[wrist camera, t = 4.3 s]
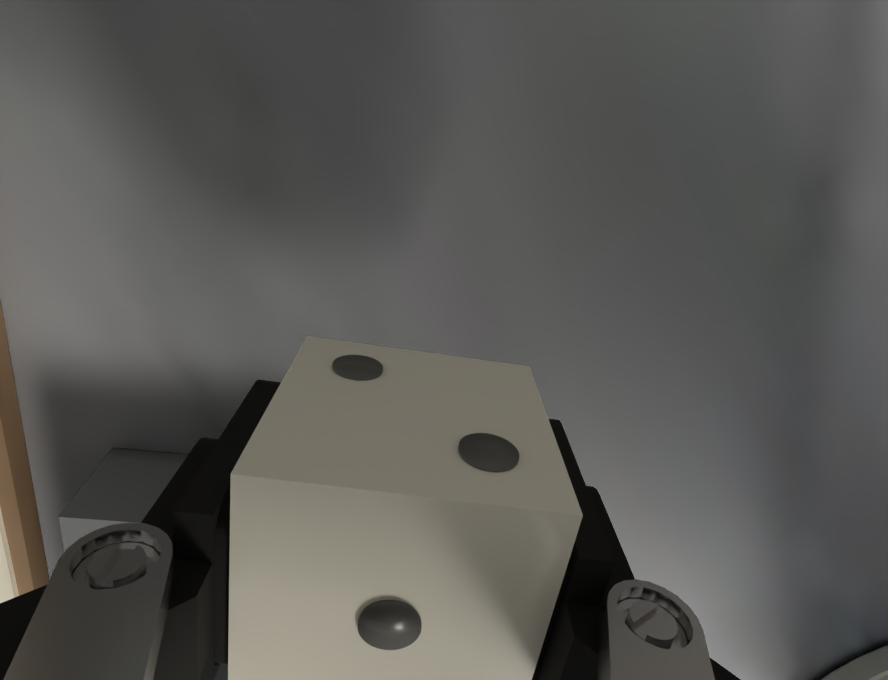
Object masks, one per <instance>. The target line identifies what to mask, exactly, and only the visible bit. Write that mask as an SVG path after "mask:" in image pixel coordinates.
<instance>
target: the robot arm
mask: <svg viewBox="0 0 888 680" xmlns="http://www.w3.org/2000/svg"><path fill="white" fill-rule="evenodd" d="M280 384H281V383H279V382H272V381H265V380H257V381H256V382H255V384H254V385H253V387H252V388H251V390H250V391H249V393H248V394H247V396H246V398H245V399H244V401H243V402H242V404H241V405H240V407H239V408H238V410H237V412H236V413H235V415H234V416H233V418H232V419H231V421H230V422H229V424H228V426H227V427H226V429H225V430H224V432H223V433H222V435H221V436H220V438H219V439H211V438H201V439H200V440H199V441H198V442H197V443H196V445H195V446H194V448H193V449H192V450H191V452H190V453H189V455H188V456H187V457H186V459H185V460H184V462H183V463H182V465H181V466H180V467H179V469H178V470H177V472H176V473H175V475H174V476H173V477H172V479H171V480H170V482H169V483H168V485H167V486H166V487H165V489H164V490H163V492H162V493H161V495H160V496H159V497H158V499H157V500H156V502H155V503H154V505H153V506H152V507H151V509H150V510H149V512H148V513H147V515H146V516H145V517H144V519H143V520H142V522H141V523H130V522H128V523H121V524H114V525H110V526H107V527H103V528H100V529H97V530H94V531H93V532H91V533H89V534H87V535H85V536H83V537H81V538H79V539H78V540H77V541H76V542H75V543H73V544H72V545H71V546H70V547H69V548H67V549H66V551H65V552H64V554H63V555H62V556H61V558H60V559H59V561H58V563H57V565H56V567H55V569H54V571H53V573H52V576H51V578H50V580H49V582H48V584H47V585H45V586H42V587H40V588H37V589H35V590H32V591H30V592H27V593H25V594H22V595H20V596H17V597H15V598H12V599H10V600H7V601H5V602H3V603H0V680H214V679H215V676H216V674H217V671H218V668H219V666H220V663H222V664H228V632H229V554H230V476H231V472H232V470H233V469H234V467H235V465H236V463H237V461H238V459H239V458H240V456H241V454H242V452H243V450H244V449H245V447H246V445H247V443H248V441H249V440H250V438H251V436H252V434H253V432H254V431H255V429H256V427H257V425H258V423H259V422H260V420H261V418H262V416H263V414H264V412H265V411H266V409H267V407H268V405H269V403H270V402H271V400H272V398H273V396H274V394H275V393H276V391H277V389H278V387H279V385H280ZM549 422H550V425H551V427H552V430H553V433H554V436H555V439H556V441H557V444H558V447H559V450H560V453H561V455H562V458H563V461H564V464H565V467H566V469H567V472H568V475H569V478H570V481H571V483H572V486H573V489H574V492H575V495H576V497H577V500H578V503H579V506H580V509H581V511H582V514H583V517H582V520H581V523H580V527H579V530H578V533H577V536H576V539H575V543H574V546H573V549H572V552H571V555H570V559H569V562H568V565H567V568H566V572H565V575H564V578H563V581H562V584H561V588H560V591H559V594H558V597H557V600H556V604H555V607H554V610H553V613H552V616H551V620H550V623H549V626H548V629H547V632H546V636H545V639H544V642H543V645H542V648H541V652H540V655H539V658H538V661H537V664H536V668H535V671H534V674H533V677H532V680H740V679H739V678H737V677H736V676H735V675H733V674H732V673H731V672H729V671H728V670H726V669H725V668H724V667H722V666H721V665H719V664H718V663H717V662H715V661H714V660H712V659H711V658H710V657H709V653H708V649H707V645H706V640H705V636H704V632H703V629H702V627H701V624H700V622H699V620H698V618H697V616H696V615H695V614H694V613H693V611H692V610H691V609H690V607H689V606H688V605H687V604H686V603H685V602H683V601H682V600H681V599H680V598H679V597H678V596H677V595H675V594H673V593H672V592H670V591H668V590H667V589H665V588H664V587H661V586H659V585H656V584H654V583H651V582H648V581H642V580H636V579H635V578H634V576H633V574H632V571H631V569H630V566H629V564H628V562H627V559H626V557H625V555H624V552H623V550H622V547H621V545H620V543H619V540H618V538H617V535H616V533H615V531H614V528H613V526H612V523H611V521H610V519H609V516H608V514H607V512H606V509H605V507H604V504H603V502H602V500H601V497H600V495H599V493H598V491H597V489H596V488H594V487H591V486H586V485H585V482H584V480H583V477H582V475H581V472H580V470H579V467H578V464H577V462H576V459H575V457H574V454H573V452H572V449H571V447H570V444H569V442H568V439H567V436H566V434H565V431H564V429H563V426H562V424H561V422H560V420H554V419H549ZM821 680H888V645H887V646H883V647H881V648H878V649H876V650H874V651H872V652H869V653H867V654H865V655H862V656H860V657H858V658H856V659H854V660H852V661H850V662H848V663H847V664H845V665H843V666H841V667H840V668H838V669H836V670H834V671H833V672H831V673H829V674H828V675H827V676H825V677H824V678H823V679H821Z"/></svg>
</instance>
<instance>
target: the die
mask: <svg viewBox="0 0 888 680" xmlns="http://www.w3.org/2000/svg"><path fill="white" fill-rule="evenodd" d="M582 517H583V514H582V511H581V509H580V506H579V503H578V500H577V497H576V495H575V492H574V489H573V486H572V483H571V481H570V478H569V475H568V472H567V469H566V467H565V464H564V461H563V458H562V455H561V453H560V450H559V447H558V444H557V441H556V439H555V436H554V433H553V430H552V427H551V425H550V422H549V419H548V416H547V413H546V411H545V408H544V405H543V402H542V400H541V397H540V394H539V391H538V388H537V386H536V383H535V380H534V377H533V374H532V372H531V369H530V366H523V365H516V364H509V363H502V362H494V361H487V360H480V359H472V358H465V357H458V356H450V355H443V354H436V353H428V352H421V351H414V350H406V349H399V348H392V347H384V346H377V345H370V344H362V343H355V342H348V341H341V340H333V339H326V338H319V337H311V336H307V337H306V338H305V340H304V342H303V344H302V346H301V347H300V349H299V351H298V353H297V355H296V356H295V358H294V360H293V362H292V364H291V365H290V367H289V369H288V371H287V373H286V374H285V376H284V378H283V380H282V382H281V384H280V385H279V387H278V389H277V391H276V393H275V394H274V396H273V398H272V400H271V402H270V403H269V405H268V407H267V409H266V411H265V412H264V414H263V416H262V418H261V420H260V422H259V423H258V425H257V427H256V429H255V431H254V432H253V434H252V436H251V438H250V440H249V441H248V443H247V445H246V447H245V449H244V450H243V452H242V454H241V456H240V458H239V459H238V461H237V463H236V465H235V467H234V469H233V470H232V472H231V476H230V554H229V632H228V680H532V677H533V674H534V671H535V668H536V664H537V661H538V658H539V655H540V652H541V648H542V645H543V642H544V639H545V636H546V632H547V629H548V626H549V623H550V620H551V616H552V613H553V610H554V607H555V604H556V600H557V597H558V594H559V591H560V588H561V584H562V581H563V578H564V575H565V572H566V568H567V565H568V562H569V559H570V555H571V552H572V549H573V546H574V543H575V539H576V536H577V533H578V530H579V527H580V523H581V520H582Z"/></svg>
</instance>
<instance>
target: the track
mask: <svg viewBox="0 0 888 680" xmlns="http://www.w3.org/2000/svg"><path fill="white" fill-rule="evenodd" d="M48 582H49V575H48V569H47V563H46V558H45V552H44V546H43V541H42V535H41V529H40V524H39V518H38V512H37V507H36V501H35V495H34V490H33V484H32V478H31V473H30V467H29V461H28V456H27V450H26V444H25V439H24V433H23V427H22V422H21V416H20V410H19V405H18V399H17V393H16V387H15V382H14V376H13V370H12V365H11V359H10V353H9V348H8V342H7V336H6V331H5V325H4V319H3V314H2V308H1V302H0V603H3V602H5V601H7V600H10V599H12V598H15V597H17V596H20V595H22V594H25V593H27V592H30V591H32V590H35V589H37V588H40V587H42V586H45V585H47V584H48Z"/></svg>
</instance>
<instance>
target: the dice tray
mask: <svg viewBox="0 0 888 680" xmlns="http://www.w3.org/2000/svg"><path fill="white" fill-rule="evenodd" d="M187 456H188V455H185V454H174V453H163V452H152V451H140V450H129V449H118V448H112V449H111V450H110V451H109V453H108V454H107V455H106V457H105V458H104V459H103V460H102V462H101V463H100V464H99V466H98V467H97V468H96V469H95V471H94V472H93V473H92V475H91V476H90V477H89V478H88V480H87V481H86V482H85V484H84V485H83V486H82V487H81V489H80V490H79V491H78V493H77V494H76V495H75V496H74V498H73V499H72V500H71V502H70V503H69V504H68V505H67V507H66V508H65V509H64V511H63V512H62V513H61V514H60V516H59V523H60V529H61V536H62V542H63V548H64V552H65V551H66V549H67V548H69V547H70V546H71V545H72V544H73V543H75V542H76V541H77V540H78V539H79V538H81V537H83V536H85V535H87V534H89V533H91V532H93V531H94V530H97V529H100V528H103V527H107V526H110V525H114V524H121V523H128V522H130V523H141V522H142V520H143V519H144V517H145V516H146V515H147V513H148V512H149V510H150V509H151V507H152V506H153V505H154V503H155V502H156V500H157V499H158V497H159V496H160V495H161V493H162V492H163V490H164V489H165V487H166V486H167V485H168V483H169V482H170V480H171V479H172V477H173V476H174V475H175V473H176V472H177V470H178V469H179V467H180V466H181V465H182V463H183V462H184V460H185V459H186V457H187ZM214 680H228V664H222V663H220V666H219V668H218V671H217V674H216V676H215V679H214Z"/></svg>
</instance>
